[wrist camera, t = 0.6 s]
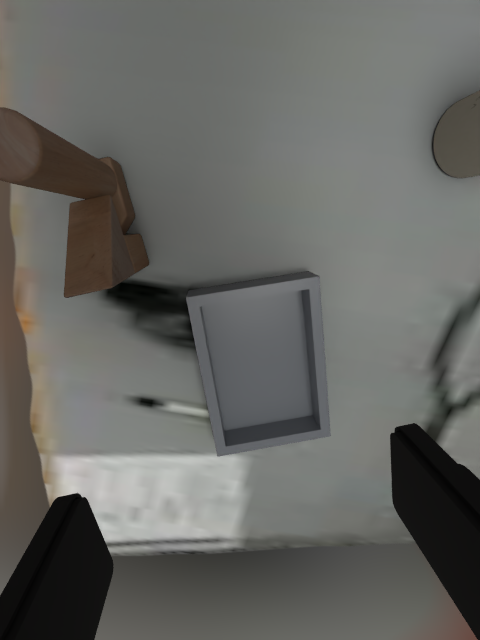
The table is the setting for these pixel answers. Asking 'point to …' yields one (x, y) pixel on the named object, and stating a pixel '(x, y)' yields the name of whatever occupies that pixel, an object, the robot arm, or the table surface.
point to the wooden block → (84, 216)
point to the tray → (262, 361)
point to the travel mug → (459, 138)
